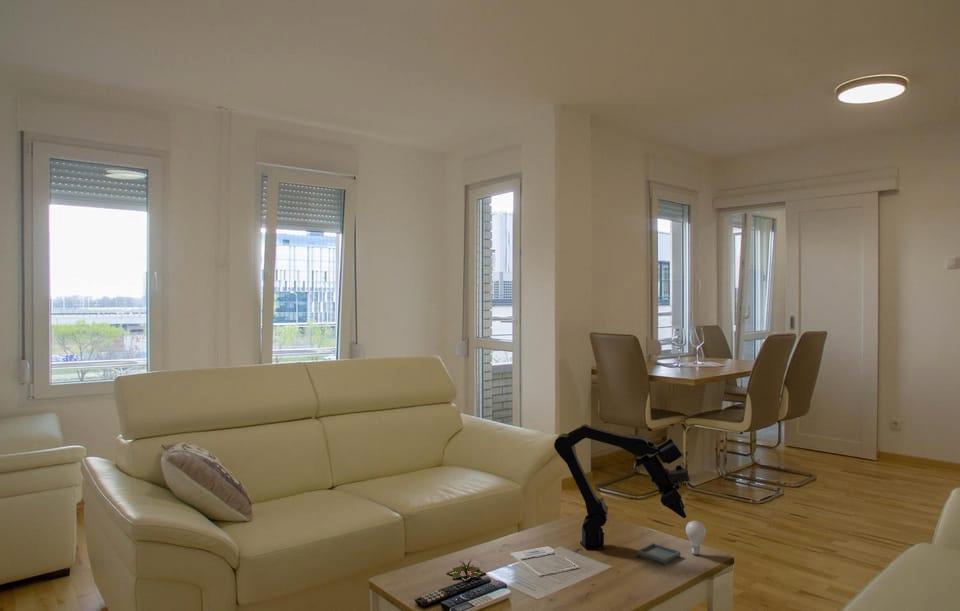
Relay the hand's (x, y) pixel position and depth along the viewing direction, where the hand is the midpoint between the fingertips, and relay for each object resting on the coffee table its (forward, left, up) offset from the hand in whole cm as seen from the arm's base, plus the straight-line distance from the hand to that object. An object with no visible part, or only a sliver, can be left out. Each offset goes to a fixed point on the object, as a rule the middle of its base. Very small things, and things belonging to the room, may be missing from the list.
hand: (684, 512), depth 200 cm
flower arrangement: (-72, -1, -15) cm, 74 cm away
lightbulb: (+5, +1, -14) cm, 15 cm away
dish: (-8, +1, -14) cm, 17 cm away
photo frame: (-46, +4, -15) cm, 49 cm away
